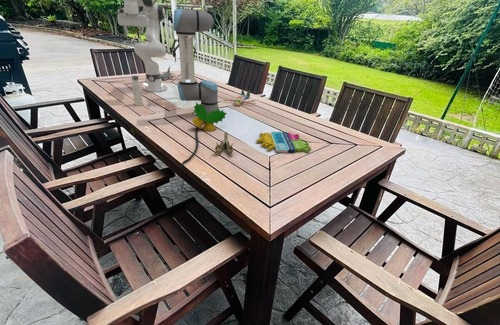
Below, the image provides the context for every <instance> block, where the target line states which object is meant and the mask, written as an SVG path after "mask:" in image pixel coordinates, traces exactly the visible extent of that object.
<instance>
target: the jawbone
mask: <svg viewBox="0 0 500 325" xmlns="http://www.w3.org/2000/svg"><path fill="white" fill-rule="evenodd" d="M223 135H224V136H223V140H222V139H221V142H220V144H218V142H215V144H216V146H215V148H214V149H215V152H214V154H215V155H217V156H218V155H220V153H221V152H223V151H224V150H226V152H227V153H228V155H229V156H233V155H234V154H233V153H234V148H233V144H234V143H230V140H228V139H229V138H228V137H229V136H228V135H229V133H228V131H226V132H224V134H223Z"/></svg>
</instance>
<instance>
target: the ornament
mask: <svg viewBox="0 0 500 325" xmlns="http://www.w3.org/2000/svg"><path fill="white" fill-rule="evenodd" d="M219 110H220V108H219V109H217V110H216V111H214V110H212V112H211V113H208V112H206V109H204V106H201V103H198V102H196V101H195V105H194V106H193V112H194V113H195V118H192V119H191V122H192V123H193V125H195V127H198V129H202V130H203V131H206V132H212V131H213V132H214V131H215V130H216V126H215V124H218V123H219V122H223V119H226V115H227V114H228V113H227V112H224V110H223V109H221V110H220V111H219ZM207 113H208V115H207ZM204 122H205V123H204ZM203 123H204V124H203ZM214 123H215V124H214Z"/></svg>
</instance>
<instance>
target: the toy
mask: <svg viewBox="0 0 500 325" xmlns="http://www.w3.org/2000/svg"><path fill="white" fill-rule="evenodd" d="M240 92H241V93H240V95H238V96H237V97H235V99H233V98H230V99H228V98H227V97H226V96H225V97H224V98H223V101H224V102H233V103H232V104H233V105H235V106H242V103H243V104H247V105H252V106H255V105H256V104H257V103H256V102H254V101H253V100H252V101H251V102H250V101H248V100H246V99H248V98H250V97H251V90H250V89H249V90H248V91H247V92H246V93H245V91H244V89H242V90H241V91H240Z"/></svg>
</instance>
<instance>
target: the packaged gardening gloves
mask: <svg viewBox="0 0 500 325" xmlns="http://www.w3.org/2000/svg"><path fill="white" fill-rule="evenodd" d="M299 136H300V135H299V134H298V133H296V134H294V133H291V132H287V131H270V132H264V133H263V132H260V133H259V139H258V138H257V139H256V143H257V144H261V148H263V147H264V148H265V149H267V151H268V152H271V151H272V150H273V149H275V152H276V153H283V154H285V153H287V154H288V153H290V154H293V153H296V152H298V153H301V152H305V153H310V151H311V150H312V149H311V148H312V146H309V142H304V141H303V139H302V138H299Z"/></svg>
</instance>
